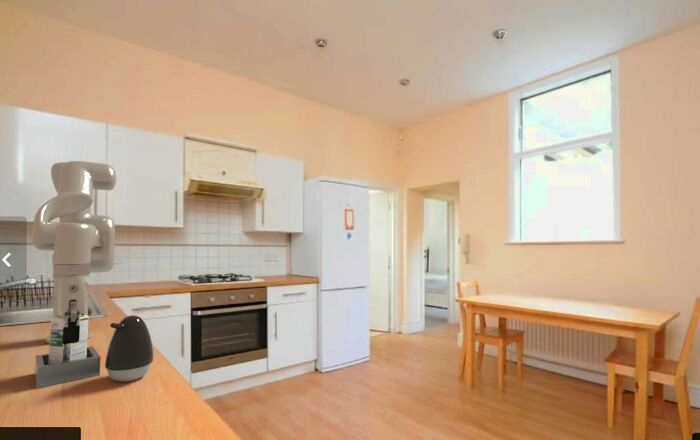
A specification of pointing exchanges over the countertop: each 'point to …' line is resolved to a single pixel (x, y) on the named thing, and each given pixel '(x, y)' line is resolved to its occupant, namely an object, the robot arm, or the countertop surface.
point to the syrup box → (67, 351)
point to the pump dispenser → (129, 350)
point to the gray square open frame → (66, 369)
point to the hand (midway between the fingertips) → (68, 338)
